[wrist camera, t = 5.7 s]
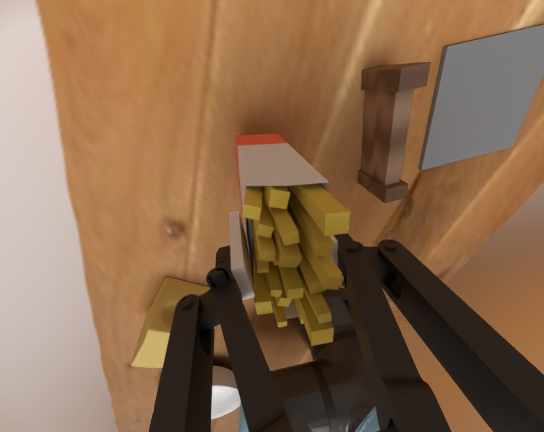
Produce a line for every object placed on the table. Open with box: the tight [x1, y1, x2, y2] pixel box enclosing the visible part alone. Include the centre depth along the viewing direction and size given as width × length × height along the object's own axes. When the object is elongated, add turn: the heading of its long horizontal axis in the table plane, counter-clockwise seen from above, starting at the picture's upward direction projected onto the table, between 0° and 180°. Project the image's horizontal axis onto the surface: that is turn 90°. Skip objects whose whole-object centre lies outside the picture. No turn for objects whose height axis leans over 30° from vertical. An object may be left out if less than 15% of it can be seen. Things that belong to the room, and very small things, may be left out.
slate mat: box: [419, 24, 544, 170], centre depth 31 cm, size 16×16×1 cm
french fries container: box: [235, 134, 350, 346], centre depth 18 cm, size 5×11×18 cm, turn 0°
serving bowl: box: [153, 366, 241, 419], centre depth 55 cm, size 21×21×7 cm
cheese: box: [131, 277, 216, 368], centre depth 37 cm, size 10×11×10 cm
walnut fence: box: [358, 62, 431, 203], centre depth 28 cm, size 15×3×7 cm, turn 10°
